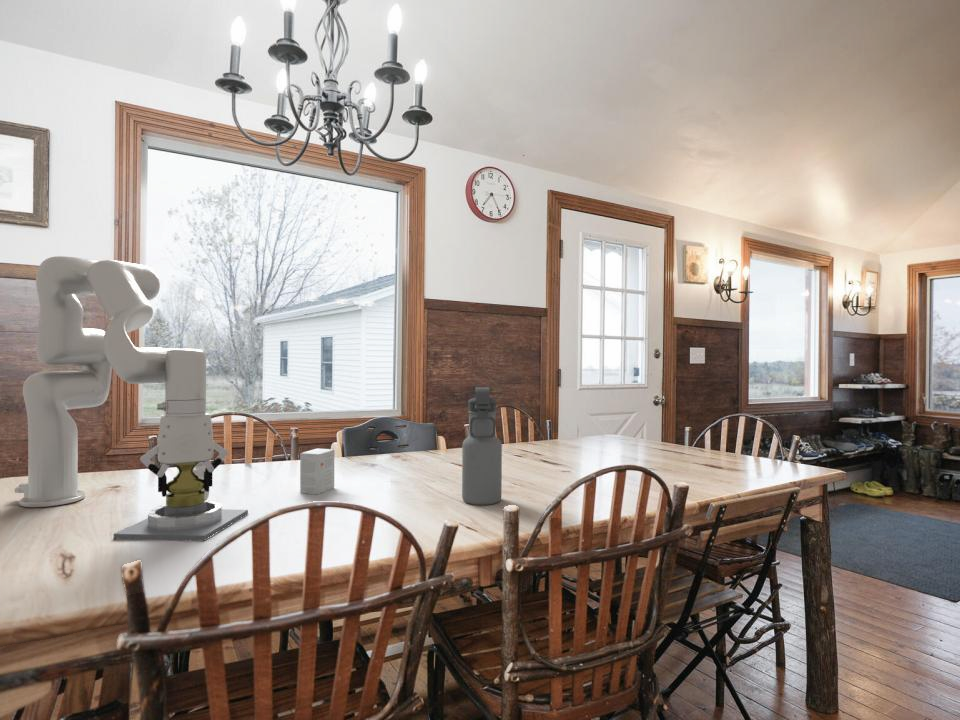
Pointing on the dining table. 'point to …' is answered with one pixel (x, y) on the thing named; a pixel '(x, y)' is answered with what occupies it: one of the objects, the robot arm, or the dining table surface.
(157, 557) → the dining table surface
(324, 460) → the small box
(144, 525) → the seat board
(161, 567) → the dining table surface
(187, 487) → the olive turned piece
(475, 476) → the water bottle
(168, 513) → the steel ring
